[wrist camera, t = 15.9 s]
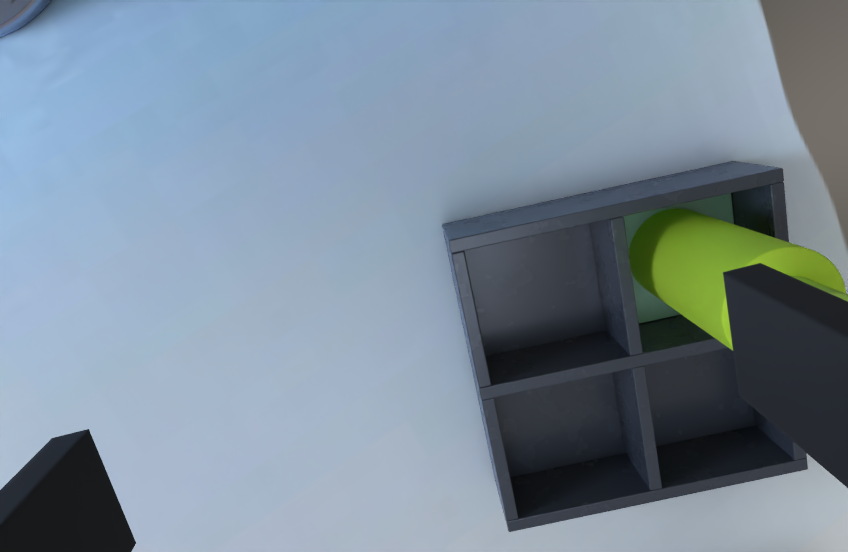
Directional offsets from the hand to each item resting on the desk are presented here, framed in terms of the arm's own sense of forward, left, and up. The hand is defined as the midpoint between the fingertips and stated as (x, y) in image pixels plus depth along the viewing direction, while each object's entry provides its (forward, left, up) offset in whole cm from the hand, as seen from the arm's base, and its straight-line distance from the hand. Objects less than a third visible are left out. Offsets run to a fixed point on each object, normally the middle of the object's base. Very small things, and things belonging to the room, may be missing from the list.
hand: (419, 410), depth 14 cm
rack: (+11, +12, -31) cm, 35 cm away
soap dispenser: (+7, +16, -30) cm, 35 cm away
